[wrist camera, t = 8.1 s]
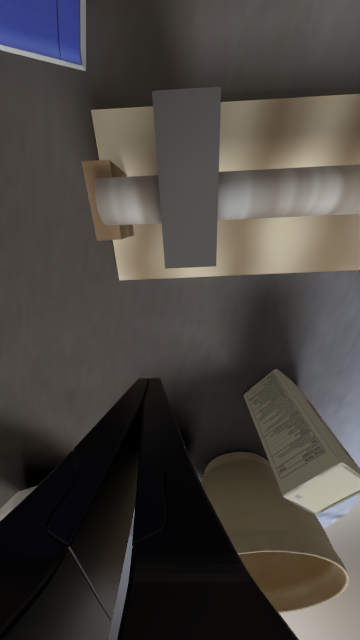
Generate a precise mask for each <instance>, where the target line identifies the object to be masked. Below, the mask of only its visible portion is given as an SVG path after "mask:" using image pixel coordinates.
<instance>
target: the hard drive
mask: <svg viewBox="0 0 360 640" xmlns="http://www.w3.org/2000/svg"><path fill="white" fill-rule="evenodd" d="M0 50H3V51H7V52H11V53H15V54H19V55H23V56H27V57H31V58H35V59H39V60H43V61H47V62H51V63H55V64H59V65H63V66H67V67H71V68H75V69H79V70H83V71H86V0H0Z"/></svg>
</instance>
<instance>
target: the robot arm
mask: <svg viewBox="0 0 360 640" xmlns="http://www.w3.org/2000/svg"><path fill="white" fill-rule="evenodd" d="M134 508H135V515H134V528H133V542H132V546H133V548H132V555H131V566H130V574H129V582H128V588H127V594H126V599H125V604H124V609H123V614H122V619H121V624H120V629H119V634H118V639H117V640H299V639H298V638H297V637H296V635H295V634H294V633H293V631H292V630H291V629H290V627H289V626H288V625H287V623H286V622H285V621H284V619H283V618H282V617H281V615H280V614H279V613H278V611H277V610H276V609H275V607H274V606H273V605H272V604H271V602H270V601H269V600H268V598H267V597H266V596H265V594H264V593H263V592H262V590H261V589H260V588H259V586H258V585H257V584H256V582H255V581H254V579H253V578H252V576H251V575H250V573H249V571H248V570H247V568H246V567H245V565H244V563H243V562H242V560H241V558H240V556H239V555H238V553H237V551H236V549H235V548H234V546H233V544H232V542H231V540H230V538H229V536H228V534H227V533H226V531H225V529H224V527H223V525H222V523H221V521H220V519H219V517H218V516H217V514H216V512H215V510H214V508H213V506H212V504H211V502H210V500H209V498H208V497H207V495H206V493H205V491H204V489H203V487H202V484H201V482H200V480H199V478H198V476H197V474H196V472H195V469H194V467H193V464H192V462H191V459H190V457H189V454H188V451H187V449H186V448H185V444H184V441H183V438H182V436H181V433H180V430H179V428H178V425H177V422H176V420H175V417H174V414H173V411H172V409H171V406H170V403H169V401H168V398H167V395H166V393H165V390H164V387H163V385H162V382H161V379H160V378H150V379H148V378H140V379H138V380H137V381H136V382H135V383H134V384H133V385H132V386H131V387H130V389H129V390H128V391H127V392H126V393H125V394H124V395H123V396H122V397H121V398H120V399H119V400H118V402H117V403H116V404H115V405H114V406H113V407H112V408H111V409H110V410H109V411H108V412H107V413H106V414H105V416H104V417H103V418H102V419H101V420H100V421H99V422H98V423H97V424H96V425H95V426H94V427H93V428H92V430H91V431H90V432H89V433H88V434H87V435H86V436H85V437H84V438H83V439H82V440H81V441H80V443H79V444H78V445H77V446H76V447H75V448H74V451H71V452H70V453H69V454H68V455H67V456H66V458H65V459H64V460H63V461H62V462H61V463H60V464H59V465H58V466H57V467H56V468H55V469H54V470H53V471H52V472H51V473H50V474H49V475H48V476H47V477H46V478H45V479H44V480H43V481H42V482H41V483H40V484H39V485H38V486H37V487H36V488H35V489H34V490H33V491H32V492H31V493H30V494H29V495H28V496H27V497H26V498H25V499H23V500H22V501H21V502H20V503H19V504H18V505H17V506H16V507H15V508H14V509H13V510H12V511H11V512H10V513H8V514H7V515H6V516H5V517H4V518H3V519H2V520H1V521H0V640H108V639H109V634H110V628H111V620H112V618H113V613H114V608H115V603H116V598H117V593H118V588H119V583H120V578H121V573H122V568H123V563H124V558H125V553H126V548H127V543H128V538H129V533H130V528H131V523H132V518H133V513H134Z"/></svg>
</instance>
